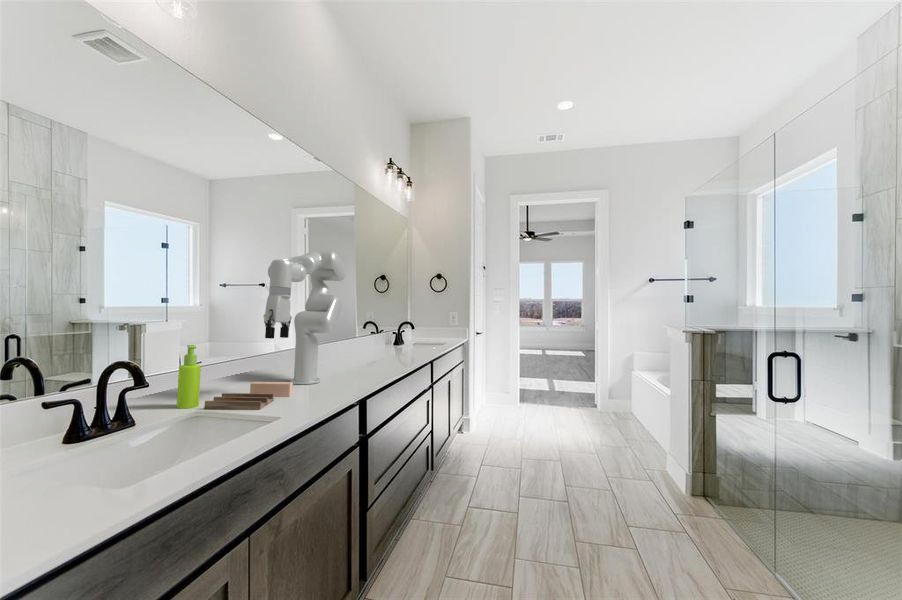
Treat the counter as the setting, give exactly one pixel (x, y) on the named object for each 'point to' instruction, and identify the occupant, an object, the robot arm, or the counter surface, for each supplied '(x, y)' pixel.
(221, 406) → the drying rack
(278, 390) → the pink rectangular block
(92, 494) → the counter surface
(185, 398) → the soap dispenser
